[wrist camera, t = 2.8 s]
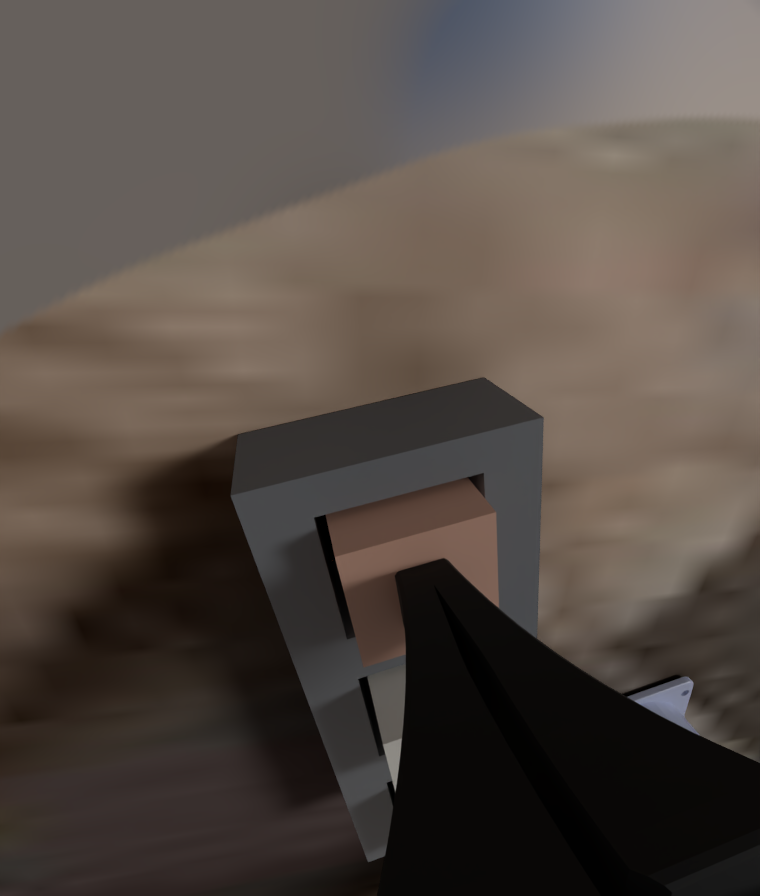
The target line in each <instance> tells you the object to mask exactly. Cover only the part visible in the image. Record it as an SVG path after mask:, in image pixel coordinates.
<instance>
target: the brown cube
mask: <svg viewBox="0 0 760 896" xmlns="http://www.w3.org/2000/svg"><path fill="white" fill-rule="evenodd" d="M326 519H327V524H328V528H329V533H330V537H331V542H332V546H333V551H334V556H335V560H336V564H337V567H338V571H339V575H340V579H341V583H342V587H343V590H344V594H345V598H346V602H347V606H348V610H349V613H350V617H351V621H352V625H353V629H354V633H355V637H356V640H357V644H358V648H359V652H360V656H361V660H362V663H363V667H367V666H370V665H374V664H377V663H380V662H383V661H386V660H389V659H393V658H396V657H399V656H402V655H405V654H406V643H405V629H404V625H403V619H402V614H401V608H400V603H399V597H398V592H397V586H396V581H395V575H396V573H397V572H398V571H401V570H404V569H408V568H411V567H415V566H418V565H422V564H425V563H428V562H432V561H435V560H439V559H442V558H445V559H447V560H449V561H450V563H451V564H452V565H453V566H454V567H455V568H456V569H457V570H458V571H459V572H460V573H461V574H462V575H463V576H464V577H465V578H466V579H467V580H468V581H469V582H470V583H471V584H472V585H474V586H475V587H476V588H477V589H478V590H479V591H480V592H481V593H482V594H483V595H484V596H485V597H487V598H488V599H489V600H490V601H491V602H492V603H493V604H495V605H496V606H497V607H498V608H499V590H498V556H497V522H496V511H495V510H494V509H493V508H492V506H491V505H490V504H489V503H488V502H487V500H486V499H485V498H484V497H483V495H482V494H481V493H480V492H479V491H478V489H477V488H476V487H475V486H474V485H473V483H472V482H471V481H470V480H469V478H468V477H466V478H462V479H459V480H455V481H451V482H447V483H443V484H440V485H436V486H432V487H428V488H424V489H421V490H417V491H413V492H409V493H405V494H402V495H398V496H394V497H390V498H387V499H383V500H379V501H375V502H371V503H368V504H364V505H360V506H356V507H352V508H349V509H345V510H341V511H337V512H333V513H330V514H326Z"/></svg>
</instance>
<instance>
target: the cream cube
mask: <svg viewBox="0 0 760 896" xmlns="http://www.w3.org/2000/svg"><path fill="white" fill-rule="evenodd" d="M367 678H368V682H369V687H370V691H371V695H372V699H373V704H374V708H375V712H376V717H377V721H378V725H379V730H380V734H381V738H382V743H383V747H384V750H385V754H386V758H387V762H388V766H389V770H390V773H391V777H392V781H393V785H394V789H395V791H396V785H397V778H398V770H399V761H400V752H401V742H402V732H403V720H404V706H405V683H406V664H403V665H400V666H397V667H394V668H391V669H388V670H385V671H381V672H378V673H375V674H372V675H369V676H367Z"/></svg>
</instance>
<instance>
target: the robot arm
mask: <svg viewBox="0 0 760 896" xmlns="http://www.w3.org/2000/svg"><path fill="white" fill-rule="evenodd" d="M395 581H396V586H397V592H398V597H399V603H400V608H401V614H402V619H403V625H404V629H405V643H406V683H405V706H404V720H403V732H402V742H401V752H400V761H399V770H398V778H397V785H396V791H395V798H394V804H393V811H392V817H391V824H390V831H389V836H388V842H387V848H386V853H385V858H384V863H383V868H382V873H381V878H380V884H379V889H378V894H377V896H760V763H758V762H756V761H754V760H752V759H750V758H747V757H745V756H743V755H741V754H739V753H736V752H734V751H732V750H730V749H727V748H725V747H723V746H721V745H719V744H716V743H714V742H712V741H710V740H708V739H706V738H704V737H702V736H700V735H699V734H698V733H697V731H696V730H695V729H694V728H693V727H692V726H691V725H690V723H689V722H688V721H687V720H686V719H685V718H684V715H685V711H686V708H687V705H688V701H689V698H690V695H691V692H692V688H693V682H692V681H691V680H690V679H689V677H681V678H678V679H675V680H672V681H670V682H667V683H664V684H661V685H658V686H655V687H653V688H650V689H647V690H644V691H641V692H639V693H636V694H633V695H630V696H627V697H626V696H624V695H622V694H621V693H619V692H617V691H615V690H614V689H612V688H610V687H608V686H607V685H605V684H603V683H602V682H600V681H598V680H597V679H595V678H594V677H592V676H591V675H589V674H587V673H586V672H584V671H583V670H581V669H579V668H578V667H576V666H575V665H573V664H572V663H570V662H569V661H567V660H566V659H564V658H563V657H562V656H560V655H559V654H557V653H556V652H554V651H553V650H552V649H550V648H549V647H547V646H546V645H545V644H543V643H542V642H541V641H539V640H538V639H537V638H535V637H534V636H533V635H531V634H530V633H529V632H527V631H526V630H525V629H524V628H522V627H521V626H520V625H518V624H517V623H516V622H515V621H514V620H512V619H511V618H510V617H509V616H507V615H506V614H505V613H504V612H503V611H502V610H500V609H499V608H498V607H497V606H496V605H495V604H493V603H492V602H491V601H490V600H489V599H488V598H487V597H485V596H484V595H483V594H482V593H481V592H480V591H479V590H478V589H477V588H476V587H475V586H474V585H472V584H471V583H470V582H469V581H468V580H467V579H466V578H465V577H464V576H463V575H462V574H461V573H460V572H459V571H458V570H457V569H456V568H455V567H454V566H453V565H452V564H451V563H450V561H449V560H447V559H445V558H442V559H439V560H435V561H432V562H428V563H425V564H422V565H418V566H415V567H411V568H408V569H404V570H401V571H398V572H397V573H396V575H395Z"/></svg>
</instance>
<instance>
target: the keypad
mask: <svg viewBox="0 0 760 896" xmlns="http://www.w3.org/2000/svg"><path fill="white" fill-rule="evenodd" d="M543 420H544V417H542V416H541V415H539V414H538V413H536V412H535V411H533V410H532V409H530V408H529V407H527V406H526V405H524V404H523V403H522V402H520V401H519V400H517V399H516V398H514V397H513V396H511V395H510V394H508V393H507V392H505V391H504V390H502V389H501V388H499V387H498V386H496V385H495V384H493V383H492V382H490V381H489V380H487V379H486V378H480V379H475V380H471V381H467V382H462V383H458V384H454V385H449V386H445V387H441V388H437V389H432V390H428V391H424V392H419V393H415V394H411V395H406V396H402V397H398V398H393V399H389V400H385V401H380V402H376V403H372V404H368V405H363V406H359V407H355V408H350V409H346V410H342V411H337V412H333V413H329V414H324V415H320V416H316V417H312V418H307V419H303V420H299V421H294V422H290V423H286V424H281V425H277V426H273V427H268V428H264V429H260V430H255V431H251V432H247V433H243V434H238V439H237V447H236V455H235V463H234V471H233V479H232V488H231V498H232V501H233V504H234V506H235V509H236V512H237V514H238V517H239V520H240V522H241V525H242V528H243V530H244V533H245V536H246V538H247V541H248V544H249V546H250V549H251V552H252V554H253V557H254V560H255V562H256V565H257V568H258V570H259V573H260V576H261V578H262V581H263V584H264V586H265V589H266V592H267V594H268V597H269V599H270V602H271V605H272V607H273V610H274V613H275V615H276V618H277V621H278V623H279V626H280V629H281V631H282V634H283V637H284V639H285V642H286V645H287V647H288V650H289V653H290V655H291V658H292V661H293V663H294V666H295V669H296V671H297V674H298V677H299V679H300V682H301V685H302V687H303V690H304V693H305V695H306V698H307V701H308V703H309V706H310V709H311V711H312V714H313V717H314V719H315V722H316V725H317V727H318V730H319V733H320V735H321V738H322V741H323V743H324V746H325V749H326V751H327V754H328V757H329V759H330V762H331V764H332V767H333V770H334V772H335V775H336V778H337V780H338V783H339V786H340V788H341V791H342V794H343V796H344V799H345V802H346V804H347V807H348V810H349V812H350V815H351V818H352V820H353V823H354V826H355V828H356V831H357V834H358V836H359V839H360V842H361V844H362V847H363V850H364V852H365V855H366V858H367V860H368V862H370V861H373V860H376V859H378V858H381V857H384V856H385V853H386V848H387V842H388V836H389V831H390V824H391V817H392V811H393V804H394V798H395V789H394V785H393V781H392V777H391V773H390V770H389V766H388V762H387V758H386V754H385V750H384V747H383V743H382V738H381V734H380V730H379V725H378V721H377V717H376V712H375V708H374V704H373V699H372V695H371V691H370V687H369V682H368V678H367V676H369V675H372V674H375V673H378V672H381V671H385V670H388V669H391V668H394V667H397V666H400V665H403V664H406V654H405V655H402V656H399V657H396V658H393V659H389V660H386V661H383V662H380V663H377V664H374V665H370V666H367V667H363V663H362V660H361V656H360V652H359V648H358V644H357V640H356V637H355V633H354V629H353V625H352V621H351V617H350V613H349V610H348V606H347V602H346V598H345V594H344V590H343V587H342V583H341V579H340V575H339V571H338V567H337V564H336V562H332V563H331V559H330V556H329V552H328V548H327V544H326V541H325V537H324V533H323V529H322V526H321V522H320V518H319V516H322V515H326V514H330V513H333V512H337V511H341V510H345V509H349V508H352V507H356V506H360V505H364V504H368V503H371V502H375V501H379V500H383V499H387V498H390V497H394V496H398V495H402V494H405V493H409V492H413V491H417V490H421V489H424V488H428V487H432V486H436V485H440V484H443V483H447V482H451V481H455V480H459V479H462V478H466V477H468V478H469V480H470V481H471V482H472V483H473V485H474V486H475V487H476V488H477V489H478V491H479V492H480V493H481V494H482V495H483V497H484V498H485V499H486V500H487V502H488V503H489V504H490V505H491V506H492V508H493V509H494V510H495V511H496V522H497V556H498V590H499V609H500V610H502V611H503V612H504V613H505V614H506V615H507V616H509V617H510V618H511V619H512V620H514V621H515V622H516V623H517V624H518V625H520V626H521V627H522V628H524V629H525V630H526V631H527V632H529V633H530V634H531V635H533V636H534V637H535V638H537V621H538V587H539V554H540V520H541V487H542V453H543Z"/></svg>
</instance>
